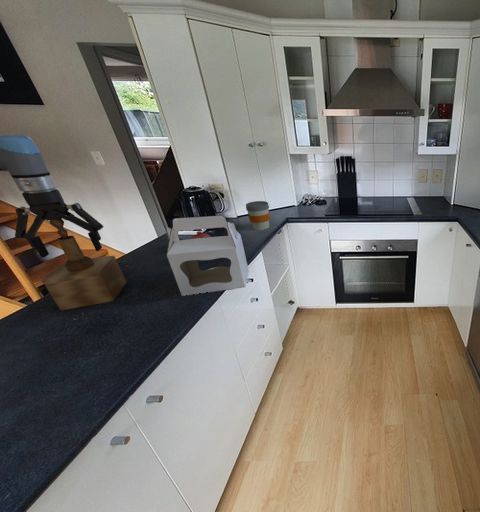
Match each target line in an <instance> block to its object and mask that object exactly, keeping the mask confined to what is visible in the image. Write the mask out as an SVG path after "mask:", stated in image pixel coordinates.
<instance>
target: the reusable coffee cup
mask: <svg viewBox="0 0 480 512" xmlns="http://www.w3.org/2000/svg"><path fill="white" fill-rule="evenodd" d="M245 209H246V211H247V216H248V219H249V222H251V225H252V228H253V230H255V231H264V229H265V230H268V229H269V228H270V219H271V218H270V217H271V216H270V215H271V214H270V205H269V202H268V201H265V200H255V201H250V202H247V203H246V204H245ZM267 228H268V229H267Z"/></svg>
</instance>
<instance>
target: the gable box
mask: <svg viewBox="0 0 480 512" xmlns="http://www.w3.org/2000/svg"><path fill="white" fill-rule="evenodd" d="M219 228H220V229H222V228H224V229H226V231H227V235H223V236H210V237H209V238H197V239H191V238H187V239H181V238H180V235H179V232H183V231H194V230H206V229H207V230H208V229H219ZM166 232H167V237H168V245H167V248H166V249H167V250H166V257H167V260H168V262H169V266H170V269H171V271H172V273H173V277H174V279H175V282H176V285H177V286H178V290H179V292H180V295H181V297H186V295H187V296H193V294H194V295H200V294H199V293H201V294H207V293H206V292H208V293H215V292H222V291H229V290H237V289H242V288H243V289H244V288H246V286H247V283H248V282H247V281H248V277H249V272H250V271H249V266H248V262H247V258H246V253H245V248H244V243H243V240H242V239H243V238H242V235H241V234H240V232H239V231H238V230H237V229H236V225H235V223H234V222H229V221H227V219H226V216H224V215H222V214H220V215H207V216H193V217H192V216H191V217H176V218H173V219H172V227H166ZM222 258H223V259H228V260H230V266H225V265H223V266H222V265H221V266H215V267H212V268H208V269H201V268H200V266H199V265H200V264H199V262H198V261H212V260H217V259H222Z"/></svg>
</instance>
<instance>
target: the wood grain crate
mask: <svg viewBox="0 0 480 512" xmlns="http://www.w3.org/2000/svg"><path fill="white" fill-rule="evenodd" d="M91 259H92V261H93V262H94V265H92V266H90V267H89V268H86V269H83V270H79V271H68V270H67V268H66V266H65V263H66V262H67V261H64V262H63V263H61V264H60V265H59V266H58V267H56V269H54V270H53V271H52V272H50V273H49V274H48V275H47V276H45V277H44V278H43V279H41V282H42V283H43V285H44V287H45V288H46V290H47V291H48V293H49V294H50V296H51V297H52V299H53V301H54V302H55V304H56V305H57V307H58V309H59V310H60V311H66V310H72V309H76V308H82V307H87V306H88V307H89V306H95V305H99V304H104V303H110V302H111V303H112V302H114V301H115V299H116V298H117V297H118V296H119V294H120V293H121V292H122V290H123V288H124V287H125V286H126V284H127V280H126V278H125V276H124V273H123V272H122V269H121V267H120V265H119V263H118V261H117V258H116V256H115V255H107V256H101V257H91Z"/></svg>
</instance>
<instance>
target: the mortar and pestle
mask: <svg viewBox="0 0 480 512" xmlns="http://www.w3.org/2000/svg"><path fill="white" fill-rule="evenodd" d="M49 224H50V225H51V226H52V227H54V228H56V230H57V231H56V233H57V234H58V236H60V237H57V238H56V241H57V242H58V245H59V246H60V248H61V250H62V251H63V253H64V255H65V257H66V259H67V261H65V262H66V263H65V266H66V268H67V270H68V271H79V270H83V269H86V268H89V267H90V266H92V265H94V262H93V261H92V257H89V256H85V255H84V253H83V250H82V249H81V247H80V246H79V244H78V242H77V240H76V238H75V236H74V235H69V233H68V230H67V229H65V228H64V225H65V220H64V219H63V218H62V219H60V220H49Z"/></svg>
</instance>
